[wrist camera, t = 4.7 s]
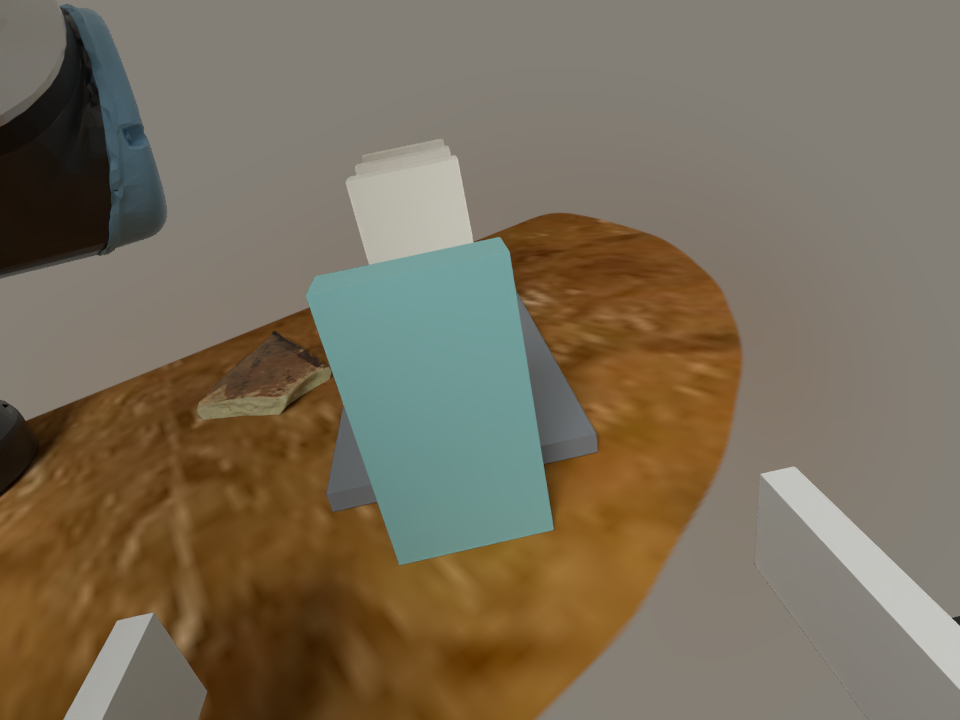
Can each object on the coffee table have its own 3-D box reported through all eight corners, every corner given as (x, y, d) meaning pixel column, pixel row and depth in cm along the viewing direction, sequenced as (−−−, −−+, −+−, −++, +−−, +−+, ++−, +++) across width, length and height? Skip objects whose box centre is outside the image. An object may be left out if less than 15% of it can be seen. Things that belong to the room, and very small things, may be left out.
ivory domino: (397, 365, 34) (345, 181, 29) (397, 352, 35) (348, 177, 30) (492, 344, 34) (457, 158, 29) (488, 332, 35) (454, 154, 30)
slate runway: (333, 511, 24) (326, 494, 24) (369, 298, 49) (366, 287, 49) (598, 451, 24) (596, 433, 24) (500, 269, 49) (498, 259, 49)
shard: (280, 347, 44) (272, 327, 43) (368, 339, 42) (362, 317, 41) (198, 427, 34) (186, 403, 34) (307, 420, 33) (297, 394, 32)
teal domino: (399, 565, 21) (305, 295, 16) (399, 531, 22) (314, 276, 17) (553, 529, 21) (509, 251, 16) (543, 498, 22) (500, 237, 18)
